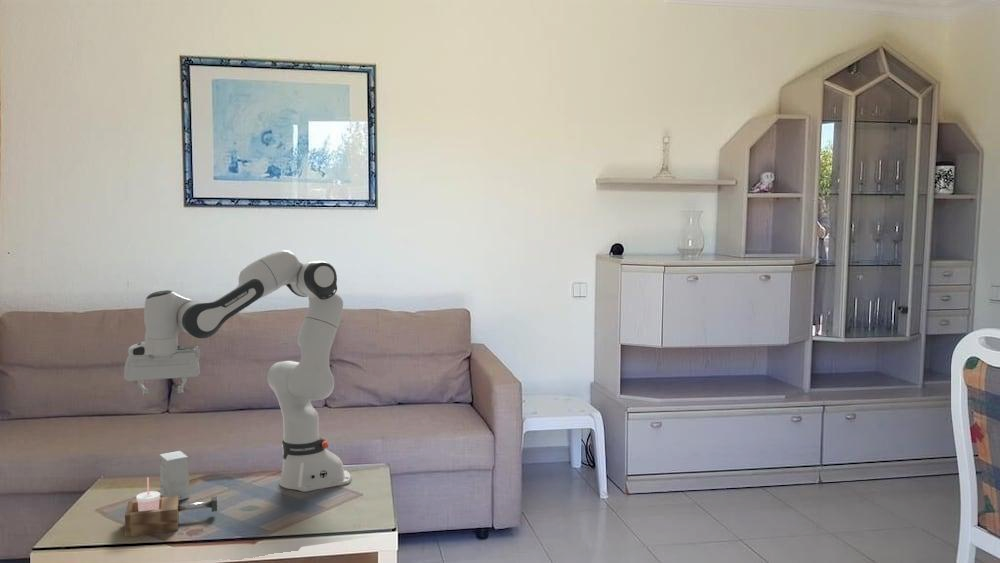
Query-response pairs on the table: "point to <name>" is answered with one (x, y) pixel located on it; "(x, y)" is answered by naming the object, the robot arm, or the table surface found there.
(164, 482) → the small box
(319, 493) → the table surface
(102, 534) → the table surface
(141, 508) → the beverage cup
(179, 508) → the lock pin
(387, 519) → the table surface
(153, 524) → the socket block
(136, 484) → the table surface
